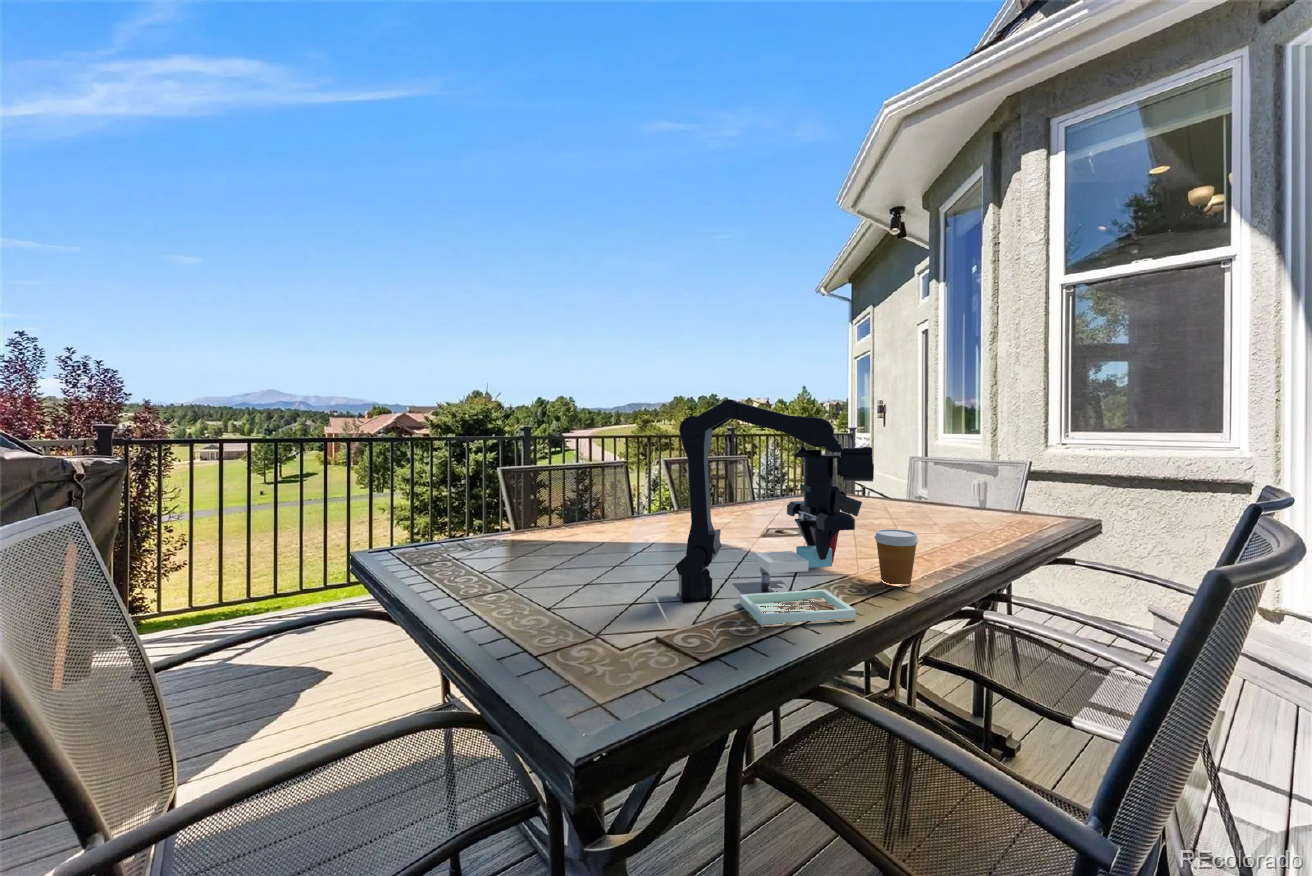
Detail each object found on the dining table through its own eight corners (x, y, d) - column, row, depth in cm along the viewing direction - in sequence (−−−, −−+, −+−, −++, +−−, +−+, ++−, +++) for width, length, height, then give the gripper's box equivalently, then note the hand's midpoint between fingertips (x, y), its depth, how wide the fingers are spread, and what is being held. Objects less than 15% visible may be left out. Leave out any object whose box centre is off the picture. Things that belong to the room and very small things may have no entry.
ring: (768, 573, 105) (769, 555, 105) (755, 562, 113) (754, 545, 113) (837, 569, 108) (837, 551, 108) (819, 559, 116) (819, 542, 115)
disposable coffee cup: (865, 581, 132) (865, 531, 131) (894, 575, 136) (894, 527, 135) (897, 592, 123) (898, 538, 123) (927, 586, 127) (928, 534, 127)
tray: (761, 628, 103) (761, 616, 103) (739, 604, 116) (739, 594, 116) (855, 621, 106) (855, 610, 106) (824, 599, 119) (824, 589, 119)
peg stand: (748, 601, 118) (748, 572, 117) (732, 585, 129) (732, 558, 129) (802, 598, 119) (802, 569, 119) (780, 582, 131) (780, 556, 131)
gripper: (881, 484, 103) (881, 567, 103) (834, 474, 121) (833, 545, 122) (825, 486, 101) (825, 570, 102) (785, 475, 119) (785, 547, 120)
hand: (818, 557), depth 111 cm, fingers closed on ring, 3 cm apart
